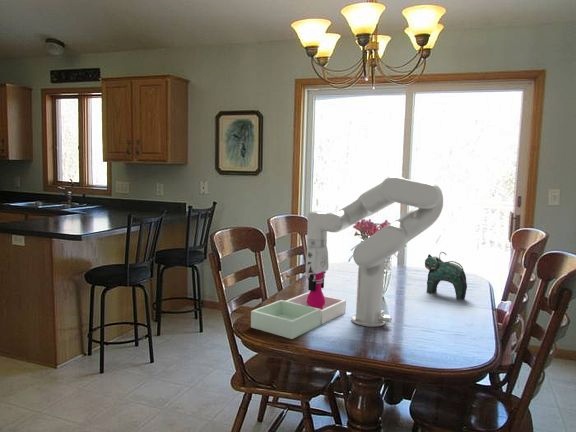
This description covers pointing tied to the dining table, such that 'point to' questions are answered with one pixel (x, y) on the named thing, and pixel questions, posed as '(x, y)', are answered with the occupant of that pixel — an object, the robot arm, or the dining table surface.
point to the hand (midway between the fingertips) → (316, 288)
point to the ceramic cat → (445, 275)
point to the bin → (285, 318)
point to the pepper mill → (317, 293)
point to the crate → (331, 306)
